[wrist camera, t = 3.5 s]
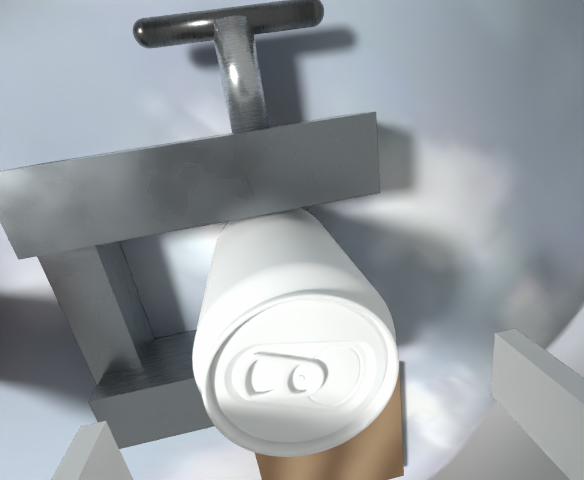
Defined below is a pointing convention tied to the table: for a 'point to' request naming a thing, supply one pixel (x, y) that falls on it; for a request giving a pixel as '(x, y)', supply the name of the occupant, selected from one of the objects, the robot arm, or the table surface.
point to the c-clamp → (175, 213)
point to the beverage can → (291, 338)
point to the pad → (349, 453)
